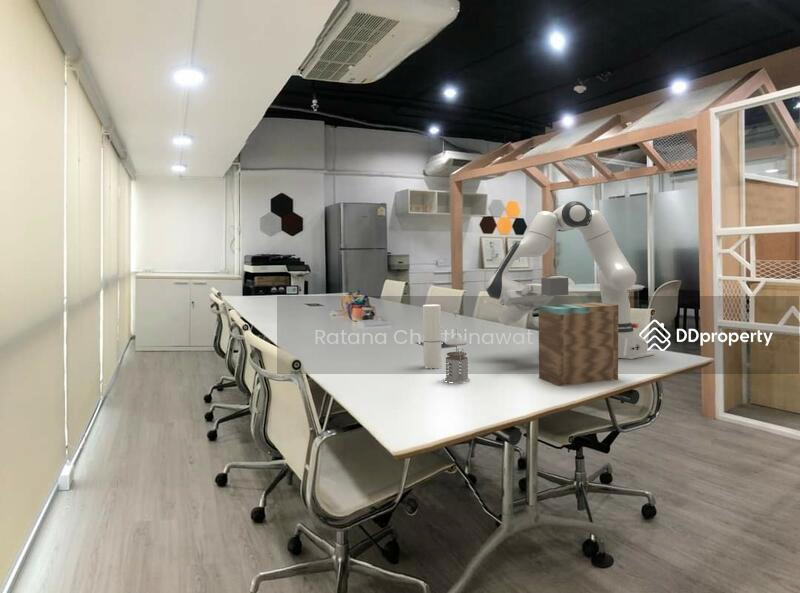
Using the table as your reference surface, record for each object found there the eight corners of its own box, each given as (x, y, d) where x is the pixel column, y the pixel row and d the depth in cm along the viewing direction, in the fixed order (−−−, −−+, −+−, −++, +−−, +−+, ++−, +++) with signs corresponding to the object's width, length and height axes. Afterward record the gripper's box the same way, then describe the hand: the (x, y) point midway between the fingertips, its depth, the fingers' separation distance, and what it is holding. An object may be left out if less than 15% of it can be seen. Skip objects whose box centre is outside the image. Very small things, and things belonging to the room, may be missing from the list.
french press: (465, 376, 195) (464, 309, 193) (476, 383, 183) (475, 312, 181) (439, 378, 192) (438, 310, 190) (449, 385, 181) (448, 313, 179)
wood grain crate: (595, 372, 196) (595, 302, 194) (618, 379, 184) (618, 305, 182) (539, 378, 188) (538, 305, 186) (558, 385, 177) (558, 308, 175)
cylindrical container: (441, 365, 215) (440, 304, 213) (441, 369, 208) (440, 306, 206) (424, 365, 216) (423, 304, 214) (423, 369, 208) (422, 306, 206)
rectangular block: (537, 291, 204) (537, 275, 204) (568, 294, 185) (568, 277, 184) (521, 291, 202) (521, 276, 202) (550, 295, 183) (550, 278, 182)
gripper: (495, 297, 208) (510, 281, 196) (541, 294, 214) (558, 278, 202) (499, 311, 205) (515, 296, 193) (545, 308, 211) (563, 293, 199)
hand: (537, 287), depth 197 cm, fingers closed on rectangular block, 4 cm apart
